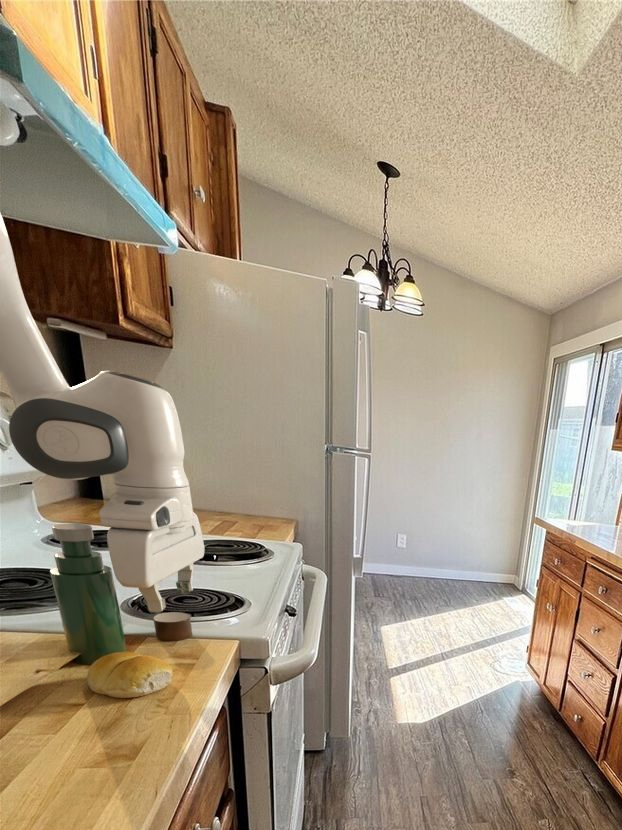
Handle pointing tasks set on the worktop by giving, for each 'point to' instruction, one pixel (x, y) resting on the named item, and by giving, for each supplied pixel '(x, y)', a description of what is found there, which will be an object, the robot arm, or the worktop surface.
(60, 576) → the green bottle
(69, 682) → the worktop surface
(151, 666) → the bread roll
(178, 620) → the brown cylinder puck
